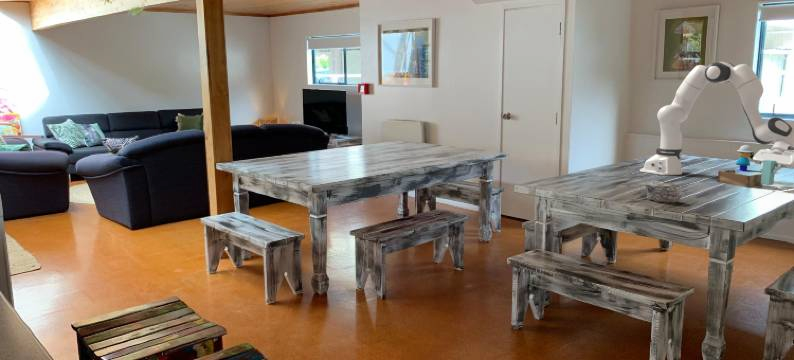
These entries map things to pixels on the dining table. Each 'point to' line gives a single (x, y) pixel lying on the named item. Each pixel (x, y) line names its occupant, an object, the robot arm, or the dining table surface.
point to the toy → (744, 157)
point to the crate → (739, 178)
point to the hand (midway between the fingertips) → (767, 171)
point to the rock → (662, 192)
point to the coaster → (766, 187)
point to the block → (768, 172)
